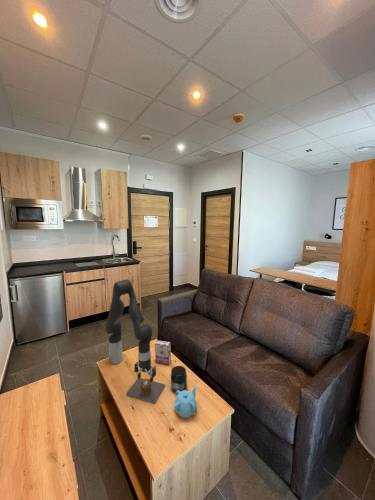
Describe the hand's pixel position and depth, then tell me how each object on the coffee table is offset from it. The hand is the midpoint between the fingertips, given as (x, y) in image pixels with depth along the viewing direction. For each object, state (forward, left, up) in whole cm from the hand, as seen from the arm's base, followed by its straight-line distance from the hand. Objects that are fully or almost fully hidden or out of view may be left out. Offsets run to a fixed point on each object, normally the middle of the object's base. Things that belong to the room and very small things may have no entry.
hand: (145, 379), depth 133 cm
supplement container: (+19, +9, -8) cm, 23 cm away
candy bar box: (-1, +28, -8) cm, 29 cm away
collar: (0, 0, -6) cm, 6 cm away
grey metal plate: (0, 0, -8) cm, 8 cm away
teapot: (+29, -5, -8) cm, 31 cm away
